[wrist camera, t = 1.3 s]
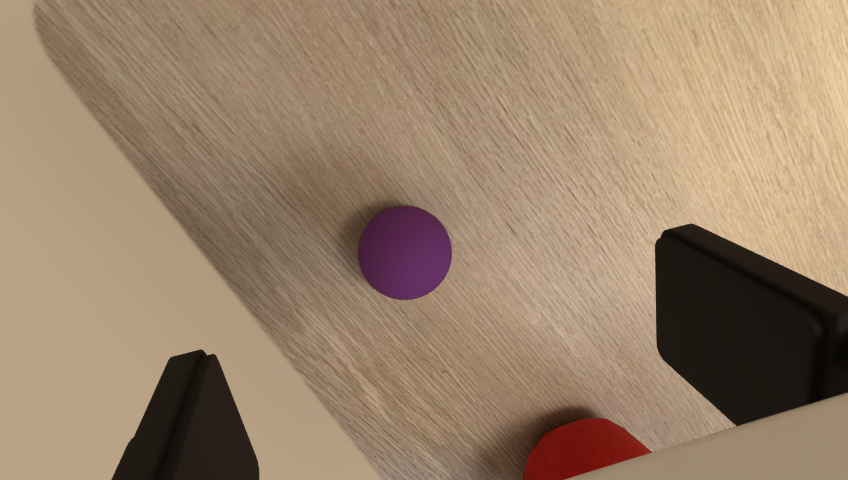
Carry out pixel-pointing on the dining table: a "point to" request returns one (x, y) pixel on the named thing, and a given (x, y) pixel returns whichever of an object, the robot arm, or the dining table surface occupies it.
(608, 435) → the apple
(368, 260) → the ball
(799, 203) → the dining table surface
